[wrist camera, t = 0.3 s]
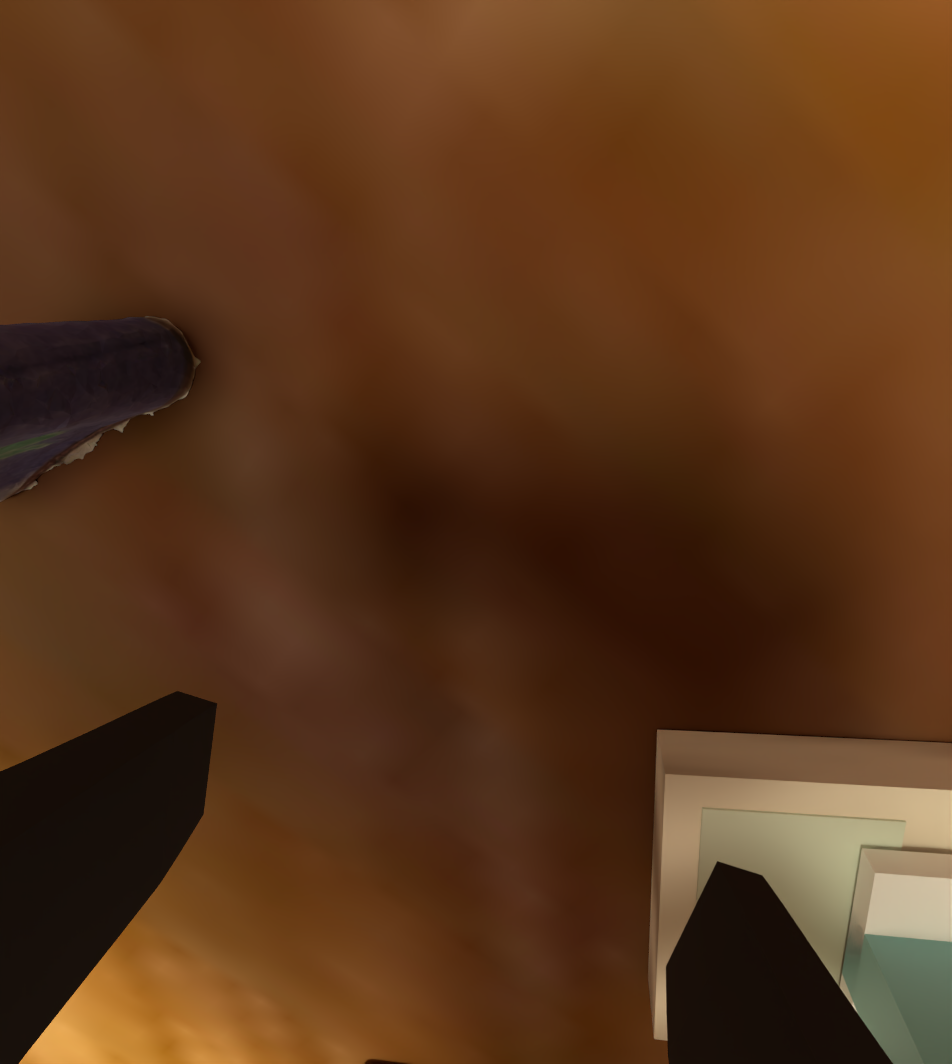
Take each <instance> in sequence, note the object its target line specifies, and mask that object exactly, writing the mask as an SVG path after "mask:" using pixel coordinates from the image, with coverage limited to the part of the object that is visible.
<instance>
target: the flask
mask: <svg viewBox="0 0 952 1064" xmlns="http://www.w3.org/2000/svg"><path fill="white" fill-rule="evenodd" d="M200 362H201V361H200V360H198V359H197V358H196V357H194V355H193V353H192V351H191V349H190V347H189V345H188V343H187V341H186V339H185V337H184V335H183V333H182V331H181V330H179V329H178V328H177V327H175V326H174V325H173V324H172V323H171V322H170V321H169V320H167V319H162V318H157V317H150V316H146V317H128V318H124V319H118V320H99V321H97V320H94V321H66V322H49V323H22V324H11V325H0V502H1V501H3V500H5V499H7V498H9V497H10V496H12V495H13V494H17V493H19V492H20V491H22V490H27V489H31V488H32V487H33V486H36V485H37V484H38V483H37V481H34V480H35V479H37V478H38V477H39V476H40V475H41V474H42V473H44V472H47V471H48V470H51V469H53V467H54V466H60V464H63V463H65V464H69V463H71V462H72V461H74V460H75V459H78V458H80V459H83V457H84V455H85V454H86V453H88V452H91V451H93V449H94V446H95V445H96V446H97V444H96V443H95V442H97V441H99V438H100V437H101V435H102V434H101V433H104V432H105V431H109V430H111V429H115V430H119V431H120V432H122V433H123V428H124V427H125V426H126V424H127V423H128V422H129V420H130V419H131V418H133V417H135V416H137V415H143V414H150V415H153V412H155V411H157V410H160V409H162V408H166V407H168V406H169V405H171V404H172V403H174V402H176V401H177V400H180V399H183V398H185V397H186V396H187V395H188V392H189V390H190V388H191V385H192V383H193V381H192V379H194V376H195V368H196V367H197V366H198V365H199V363H200Z"/></svg>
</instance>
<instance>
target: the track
mask: <svg viewBox="0 0 952 1064" xmlns="http://www.w3.org/2000/svg"><path fill="white" fill-rule="evenodd" d="M862 848H867V849H881V850H895V851H909V852H923V853H937V854H951V855H952V743H940V742H918V741H896V740H875V739H853V738H831V737H810V736H788V735H766V734H745V733H723V732H701V731H680V730H658V729H657V749H656V776H655V803H654V830H653V857H652V884H651V911H650V938H649V965H648V983H649V993H650V1004H651V1014H652V1024H653V1034H654V1039H658V1040H666V1041H668V1039H667V1014H666V965H667V963H668V961H669V959H670V957H671V955H672V953H673V951H674V948H675V946H676V944H677V942H678V940H679V938H680V936H681V934H682V932H683V930H684V928H685V926H686V924H687V922H688V920H689V918H690V916H691V914H692V912H693V910H694V908H695V906H696V903H697V901H698V899H699V897H700V895H701V893H702V891H703V889H704V887H705V885H706V883H707V881H708V879H709V877H710V875H711V873H712V871H713V869H714V867H715V865H716V863H717V861H719V862H722V863H725V864H728V865H731V866H734V867H738V868H741V869H744V870H747V871H750V872H754V873H757V874H760V875H763V877H764V878H765V879H766V881H767V882H768V884H769V885H770V886H771V888H772V889H773V891H774V892H775V893H776V895H777V896H778V898H779V899H780V901H781V902H782V903H783V905H784V906H785V908H786V909H787V911H788V912H789V914H790V915H791V917H792V918H793V919H794V921H795V922H796V924H797V925H798V927H799V928H800V930H801V931H802V933H803V934H804V936H805V937H806V939H807V940H808V942H809V943H810V945H811V946H812V947H813V949H814V950H815V952H816V953H817V955H818V956H819V958H820V959H821V961H822V962H823V964H824V965H825V967H826V968H827V970H828V971H829V972H830V974H831V975H832V977H833V978H834V980H835V981H836V983H837V984H838V986H839V987H840V982H841V976H842V969H843V963H844V957H845V951H846V945H847V938H848V932H849V926H850V920H851V913H852V907H853V901H854V895H855V889H856V882H857V876H858V870H859V864H860V858H861V851H862Z"/></svg>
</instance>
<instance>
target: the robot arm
mask: <svg viewBox="0 0 952 1064" xmlns="http://www.w3.org/2000/svg"><path fill="white" fill-rule="evenodd" d="M216 707H217V703H214V702H210V701H207V700H204V699H201V698H198V697H195V696H191V695H188V694H185V693H182V692H179V691H177V692H174V693H172V694H170V695H167V696H165V697H163V698H160V699H158V700H156V701H154V702H152V703H149V704H147V705H145V706H143V707H141V708H139V709H137V710H134V711H132V712H130V713H128V714H126V715H124V716H122V717H120V718H117V719H115V720H113V721H111V722H109V723H107V724H105V725H103V726H100V727H98V728H96V729H94V730H92V731H90V732H88V733H85V734H83V735H81V736H79V737H77V738H74V739H72V740H70V741H68V742H66V743H63V744H61V745H59V746H57V747H55V748H52V749H50V750H48V751H46V752H44V753H41V754H39V755H37V756H35V757H33V758H30V759H28V760H26V761H24V762H22V763H19V764H17V765H15V766H12V767H10V768H8V769H5V770H3V771H0V1064H19V1062H20V1061H21V1060H22V1058H23V1057H24V1056H25V1054H26V1053H27V1052H28V1050H29V1049H30V1048H31V1047H32V1045H33V1044H34V1043H35V1042H36V1040H37V1039H38V1038H39V1037H40V1035H41V1034H42V1033H43V1032H44V1030H45V1029H46V1028H47V1026H48V1025H49V1024H50V1023H51V1021H52V1020H53V1019H54V1018H55V1016H56V1015H57V1014H58V1013H59V1011H60V1010H61V1009H62V1008H63V1006H64V1005H65V1004H66V1002H67V1001H68V1000H69V999H70V997H71V996H72V995H73V994H74V992H75V991H76V990H77V989H78V987H79V986H80V985H81V984H82V982H83V981H84V980H85V978H86V977H87V976H88V975H89V973H90V972H91V971H92V970H93V968H94V967H95V966H96V965H97V963H98V962H99V961H100V960H101V958H102V957H103V956H104V955H105V953H106V952H107V951H108V949H109V948H110V947H111V946H112V944H113V943H114V942H115V941H116V939H117V938H118V937H119V936H120V934H121V933H122V932H123V930H124V929H125V928H126V927H127V925H128V924H129V923H130V921H131V920H132V919H133V918H134V916H135V915H136V914H137V913H138V911H139V910H140V909H141V907H142V906H143V905H144V904H145V902H146V901H147V900H148V898H149V897H150V896H151V895H152V893H153V892H154V891H155V889H156V888H157V887H158V885H159V884H160V883H161V881H162V880H163V878H164V877H165V875H166V873H167V872H168V870H169V869H170V867H171V866H172V864H173V863H174V861H175V859H176V858H177V856H178V855H179V853H180V852H181V850H182V848H183V847H184V845H185V844H186V842H187V840H188V839H189V837H190V835H191V834H192V832H193V830H194V829H195V827H196V826H197V824H198V822H199V821H200V819H201V817H202V816H203V813H204V805H205V797H206V788H207V780H208V772H209V764H210V756H211V748H212V740H213V732H214V724H215V715H216ZM666 1014H667V1039H668V1058H669V1064H893V1063H892V1062H891V1060H890V1059H889V1057H888V1056H887V1054H886V1053H885V1052H884V1050H883V1049H882V1047H881V1046H880V1045H879V1043H878V1042H877V1040H876V1039H875V1038H874V1036H873V1035H872V1033H871V1032H870V1030H869V1029H868V1028H867V1026H866V1025H865V1023H864V1022H863V1020H862V1019H861V1018H860V1016H859V1015H858V1013H857V1012H856V1010H855V1009H854V1007H853V1006H852V1005H851V1003H850V1002H849V1000H848V999H847V997H846V996H845V994H844V993H843V992H842V990H841V989H840V987H839V986H838V984H837V983H836V981H835V980H834V978H833V977H832V975H831V974H830V972H829V971H828V970H827V968H826V967H825V965H824V964H823V962H822V961H821V959H820V958H819V956H818V955H817V953H816V952H815V950H814V949H813V947H812V946H811V945H810V943H809V942H808V940H807V939H806V937H805V936H804V934H803V933H802V931H801V930H800V928H799V927H798V925H797V924H796V922H795V921H794V919H793V918H792V917H791V915H790V914H789V912H788V911H787V909H786V908H785V906H784V905H783V903H782V902H781V901H780V899H779V898H778V896H777V895H776V893H775V892H774V891H773V889H772V888H771V886H770V885H769V884H768V882H767V881H766V879H765V878H764V877H763V875H760V874H757V873H754V872H750V871H747V870H744V869H741V868H738V867H734V866H731V865H728V864H725V863H722V862H719V861H717V863H716V865H715V867H714V869H713V871H712V873H711V875H710V877H709V879H708V881H707V883H706V885H705V887H704V889H703V891H702V893H701V895H700V897H699V899H698V901H697V903H696V906H695V908H694V910H693V912H692V914H691V916H690V918H689V920H688V922H687V924H686V926H685V928H684V930H683V932H682V934H681V936H680V938H679V940H678V942H677V944H676V946H675V948H674V951H673V953H672V955H671V957H670V959H669V961H668V963H667V965H666Z"/></svg>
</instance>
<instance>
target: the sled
mask: <svg viewBox="0 0 952 1064" xmlns="http://www.w3.org/2000/svg"><path fill="white" fill-rule="evenodd" d="M840 989H841V990H842V992H843V993H844V994H845V996H846V997H847V999H848V1000H849V1002H850V1003H851V1005H852V1006H853V1007H854V1009H855V1010H856V1012H857V1013H858V1015H859V1016H860V1018H861V1019H862V1020H863V1022H864V1023H865V1025H866V1026H867V1028H868V1029H869V1030H870V1032H871V1033H872V1035H873V1036H874V1038H875V1039H876V1040H877V1042H878V1043H879V1045H880V1046H881V1047H882V1049H883V1050H884V1052H885V1053H886V1054H887V1056H888V1057H889V1059H890V1060H891V1062H892V1063H893V1064H952V855H951V854H937V853H923V852H909V851H895V850H881V849H867V848H862V851H861V858H860V864H859V870H858V876H857V882H856V889H855V895H854V901H853V907H852V913H851V920H850V926H849V932H848V938H847V945H846V951H845V957H844V963H843V969H842V976H841V982H840Z"/></svg>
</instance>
